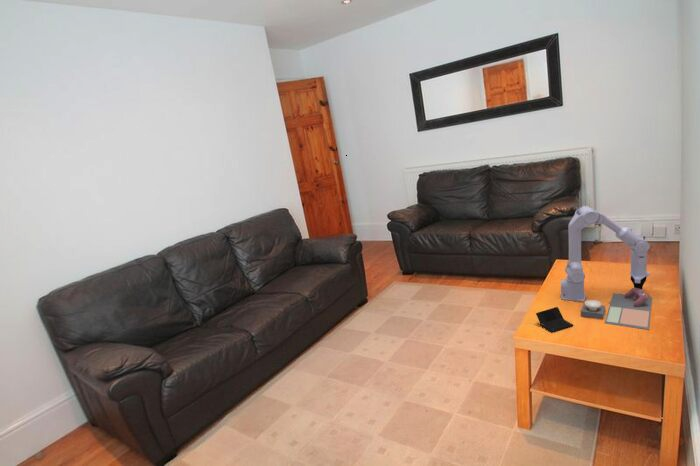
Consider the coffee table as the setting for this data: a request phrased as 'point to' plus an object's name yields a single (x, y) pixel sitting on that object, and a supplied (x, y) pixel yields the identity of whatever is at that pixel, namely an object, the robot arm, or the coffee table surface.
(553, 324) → the handheld gaming console
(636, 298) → the video game controller
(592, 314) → the button housing
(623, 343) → the coffee table surface
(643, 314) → the grey flat board
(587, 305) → the button
